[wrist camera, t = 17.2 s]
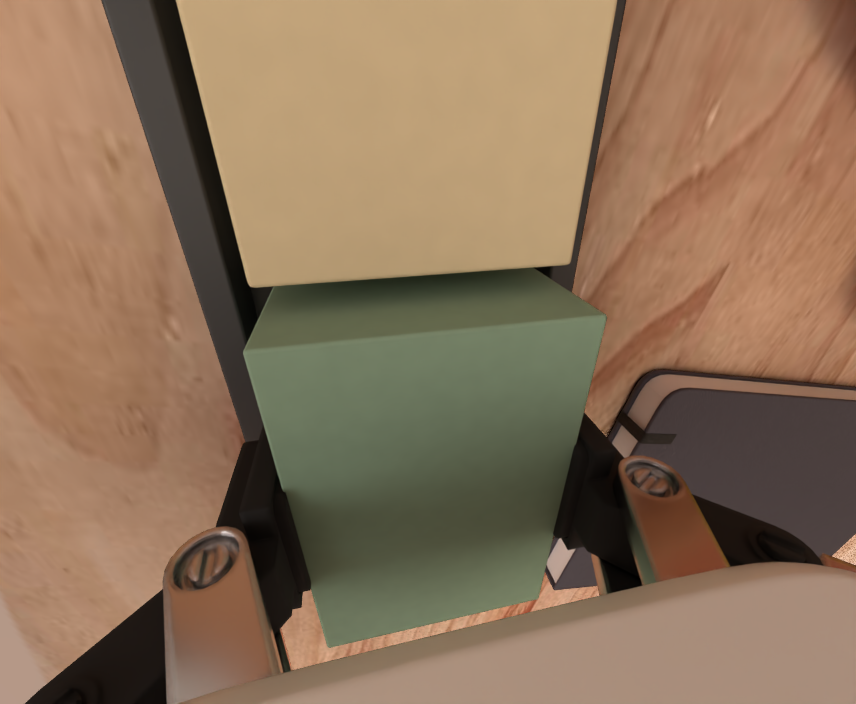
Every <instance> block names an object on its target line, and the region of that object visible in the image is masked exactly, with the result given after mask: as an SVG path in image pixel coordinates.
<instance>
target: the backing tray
mask: <svg viewBox="0 0 856 704" xmlns="http://www.w3.org/2000/svg"><path fill="white" fill-rule="evenodd" d="M101 1H102V4H103V7H104V10H105V13H106V16H107V19H108V22H109V25H110V28H111V31H112V34H113V37H114V40H115V44H116V47H117V50H118V53H119V56H120V59H121V62H122V65H123V68H124V71H125V74H126V77H127V80H128V83H129V86H130V89H131V93H132V96H133V99H134V102H135V105H136V108H137V111H138V114H139V117H140V120H141V123H142V126H143V129H144V132H145V135H146V138H147V142H148V145H149V148H150V151H151V154H152V157H153V160H154V163H155V166H156V169H157V172H158V175H159V178H160V181H161V184H162V187H163V191H164V194H165V197H166V200H167V203H168V206H169V209H170V212H171V215H172V218H173V221H174V224H175V227H176V230H177V233H178V237H179V240H180V243H181V246H182V249H183V252H184V255H185V258H186V261H187V264H188V267H189V270H190V273H191V276H192V279H193V282H194V286H195V289H196V292H197V295H198V298H199V301H200V304H201V307H202V310H203V313H204V316H205V319H206V322H207V325H208V328H209V331H210V335H211V338H212V341H213V344H214V347H215V350H216V353H217V356H218V359H219V362H220V365H221V368H222V371H223V374H224V377H225V380H226V384H227V387H228V390H229V393H230V396H231V399H232V402H233V405H234V408H235V411H236V414H237V417H238V420H239V423H240V426H241V429H242V433H243V436H244V439H245V442H248V441H255V440H259V437H260V433H261V430H262V426H263V421H262V417H261V414H260V411H259V407H258V404H257V400H256V397H255V393H254V390H253V386H252V383H251V379H250V376H249V372H248V369H247V365H246V362H245V358H244V355H243V351H244V349H245V346H246V344H247V342H248V340H249V338H250V336H251V334H252V331H253V329H254V327H255V325H256V323H257V321H258V319H259V317H260V314H261V312H262V310H263V308H264V306H265V304H266V302H267V299H268V297H269V295H270V293H271V291H272V289H273V287H274V286H272V287H259V288H254V287H250V286H249V284H248V283H247V279H246V275H245V271H244V267H243V263H242V259H241V255H240V251H239V247H238V243H237V239H236V236H235V232H234V228H233V224H232V220H231V216H230V212H229V208H228V204H227V200H226V196H225V192H224V188H223V184H222V180H221V176H220V172H219V169H218V165H217V161H216V157H215V153H214V149H213V145H212V141H211V137H210V133H209V129H208V125H207V121H206V117H205V113H204V109H203V105H202V102H201V98H200V94H199V90H198V86H197V82H196V78H195V74H194V70H193V66H192V62H191V58H190V54H189V50H188V46H187V42H186V38H185V34H184V31H183V27H182V23H181V19H180V15H179V11H178V7H177V3H176V0H101ZM625 4H626V0H617V5H616V11H615V16H614V22H613V27H612V33H611V39H610V44H609V50H608V56H607V61H606V67H605V72H604V78H603V84H602V89H601V95H600V100H599V106H598V112H597V117H596V123H595V129H594V134H593V140H592V145H591V151H590V157H589V162H588V168H587V173H586V179H585V185H584V190H583V196H582V201H581V207H580V213H579V218H578V224H577V230H576V235H575V241H574V246H573V252H572V258H571V262H570V264H568V265H561V266H547V267H533V268H534V269H536V270H537V271H539V272H541V273H542V274H544V275H545V276H547V277H548V278H550V279H551V280H553V281H554V282H556V283H558V284H559V285H561V286H562V287H564V288H565V289H567V290H568V291H570V292H571V293H572V288H573V283H574V277H575V272H576V267H577V261H578V256H579V251H580V245H581V240H582V234H583V229H584V224H585V218H586V213H587V208H588V202H589V197H590V192H591V186H592V181H593V176H594V170H595V165H596V160H597V154H598V149H599V144H600V138H601V133H602V127H603V122H604V117H605V111H606V106H607V101H608V95H609V90H610V85H611V79H612V74H613V69H614V63H615V58H616V53H617V47H618V42H619V37H620V31H621V26H622V20H623V15H624V10H625Z"/></svg>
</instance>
